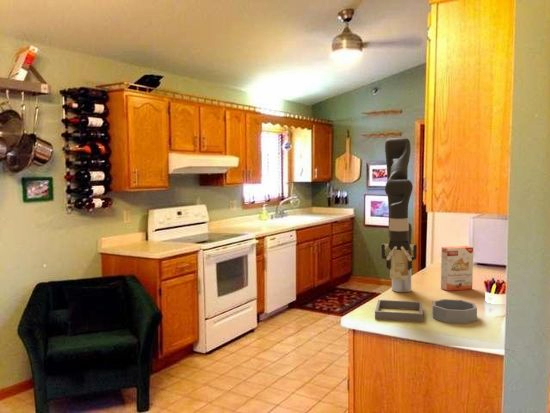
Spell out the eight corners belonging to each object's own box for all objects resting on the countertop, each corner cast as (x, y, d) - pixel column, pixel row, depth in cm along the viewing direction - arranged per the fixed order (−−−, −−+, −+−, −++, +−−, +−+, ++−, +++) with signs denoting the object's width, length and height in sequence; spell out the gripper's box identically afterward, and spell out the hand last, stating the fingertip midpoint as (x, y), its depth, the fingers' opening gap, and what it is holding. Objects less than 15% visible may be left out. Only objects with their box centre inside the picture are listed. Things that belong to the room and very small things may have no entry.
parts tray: (378, 306, 204) (378, 299, 204) (421, 309, 199) (421, 302, 199) (374, 318, 187) (374, 311, 187) (422, 322, 182) (422, 314, 182)
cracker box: (447, 291, 227) (447, 248, 226) (440, 288, 233) (440, 246, 232) (473, 289, 230) (473, 246, 229) (466, 286, 236) (466, 245, 235)
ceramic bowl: (431, 310, 197) (431, 298, 197) (473, 312, 192) (473, 300, 192) (433, 321, 182) (433, 309, 181) (478, 324, 177) (478, 311, 177)
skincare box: (394, 280, 189) (394, 250, 188) (389, 278, 193) (389, 248, 192) (409, 279, 191) (409, 249, 190) (403, 277, 195) (403, 247, 194)
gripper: (417, 228, 192) (417, 268, 193) (381, 227, 196) (381, 267, 197) (417, 230, 185) (417, 272, 186) (380, 230, 189) (380, 270, 190)
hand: (399, 269), depth 192 cm, fingers closed on skincare box, 7 cm apart
